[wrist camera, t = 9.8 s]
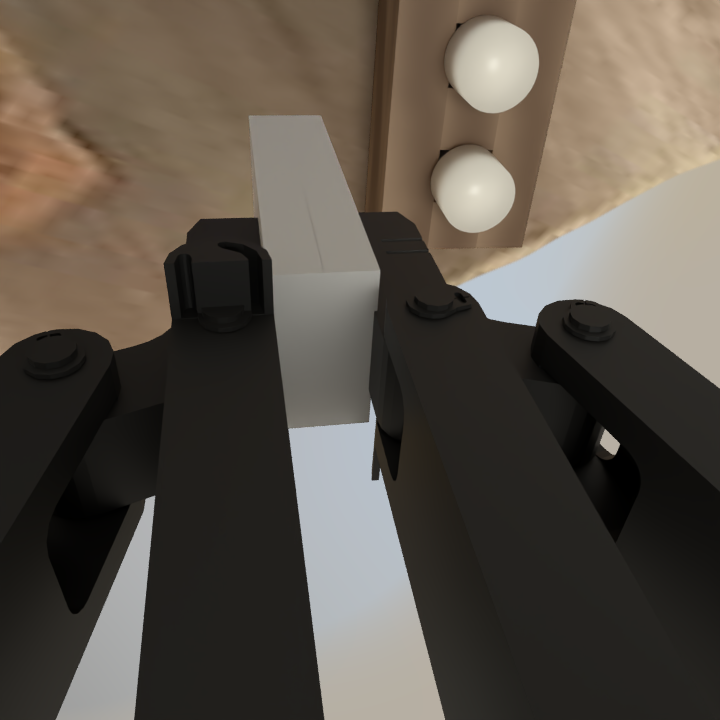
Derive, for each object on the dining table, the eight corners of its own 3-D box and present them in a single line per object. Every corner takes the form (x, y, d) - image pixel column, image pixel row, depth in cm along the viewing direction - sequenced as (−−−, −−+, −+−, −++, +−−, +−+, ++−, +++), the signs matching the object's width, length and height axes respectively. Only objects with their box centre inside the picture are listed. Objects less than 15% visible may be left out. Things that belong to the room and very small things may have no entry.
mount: (364, 212, 49) (379, 249, 44) (393, -218, 34) (418, -233, 30) (494, 211, 50) (521, 247, 45) (571, -201, 36) (623, -213, 31)
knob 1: (418, 74, 43) (453, 112, 36) (426, -3, 40) (465, 23, 33) (482, 76, 43) (529, 113, 37) (494, 0, 41) (547, 26, 34)
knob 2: (408, 180, 47) (438, 233, 40) (414, 116, 44) (448, 161, 37) (467, 180, 47) (507, 232, 40) (477, 117, 45) (521, 161, 38)
